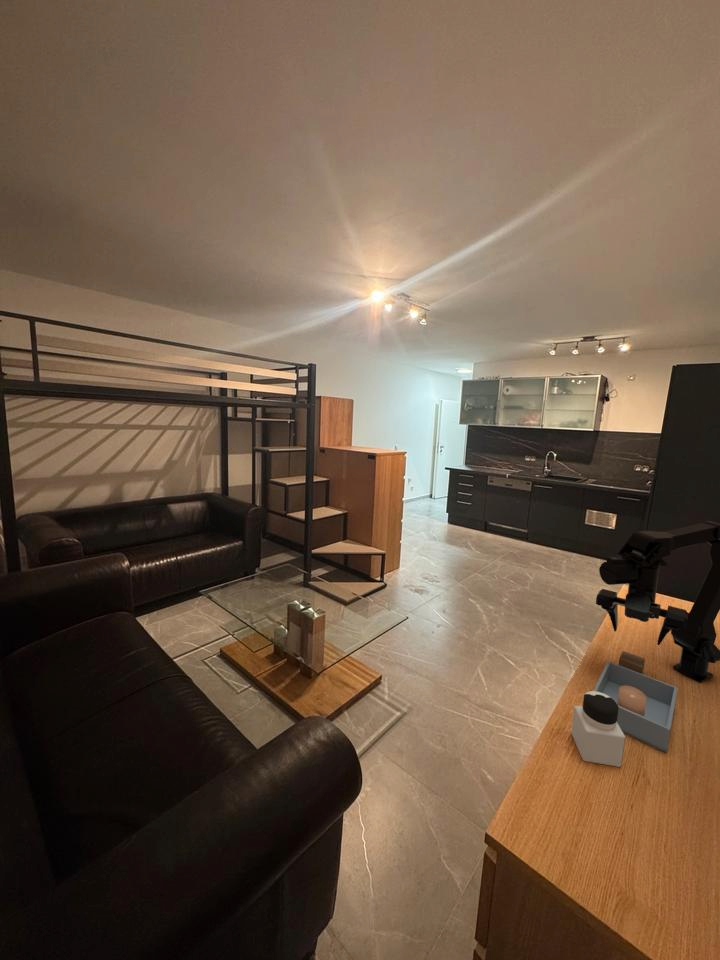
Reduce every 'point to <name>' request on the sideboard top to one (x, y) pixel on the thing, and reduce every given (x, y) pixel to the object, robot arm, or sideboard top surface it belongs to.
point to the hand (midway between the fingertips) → (636, 637)
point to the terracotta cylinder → (632, 699)
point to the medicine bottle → (598, 730)
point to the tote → (657, 708)
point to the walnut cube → (632, 662)
